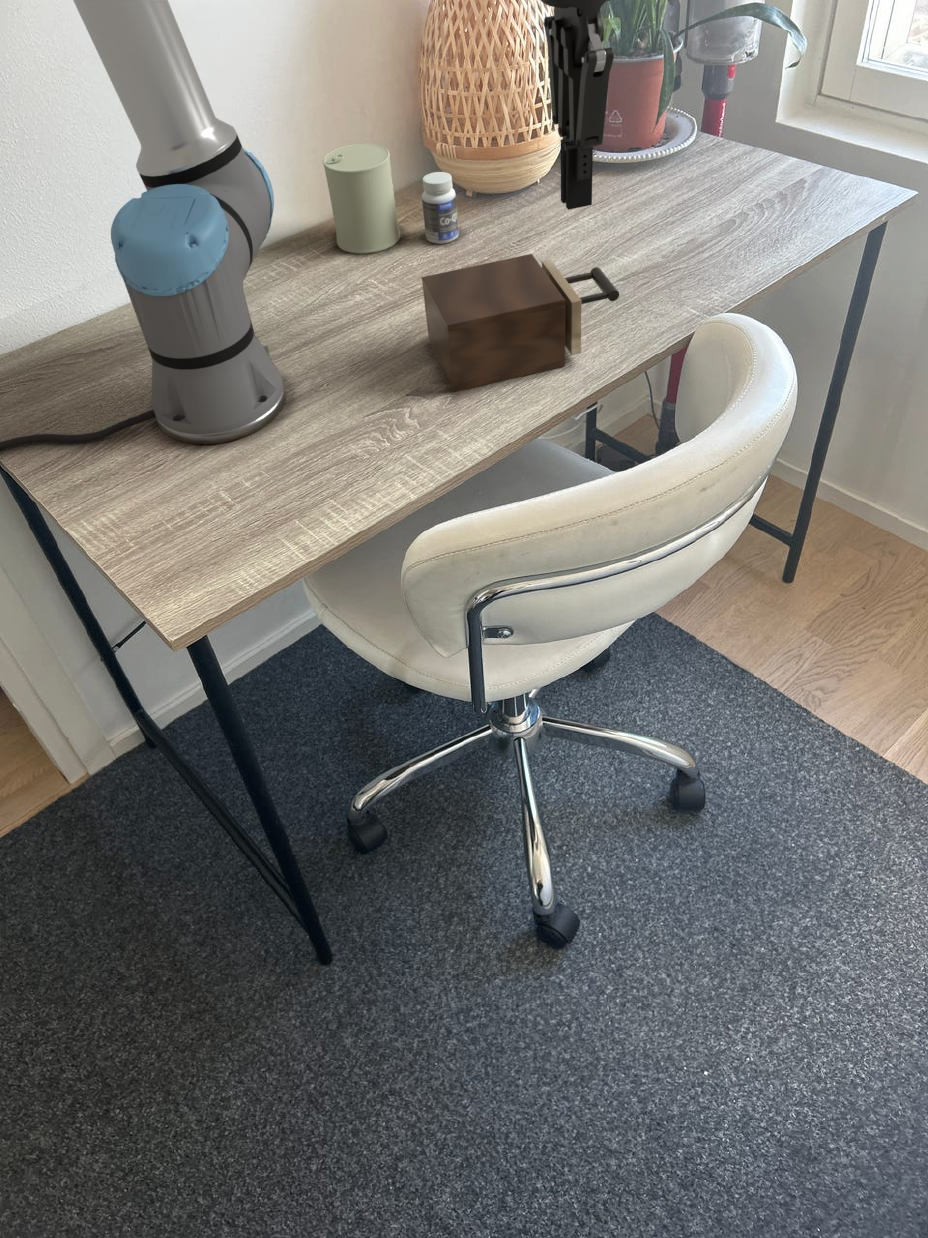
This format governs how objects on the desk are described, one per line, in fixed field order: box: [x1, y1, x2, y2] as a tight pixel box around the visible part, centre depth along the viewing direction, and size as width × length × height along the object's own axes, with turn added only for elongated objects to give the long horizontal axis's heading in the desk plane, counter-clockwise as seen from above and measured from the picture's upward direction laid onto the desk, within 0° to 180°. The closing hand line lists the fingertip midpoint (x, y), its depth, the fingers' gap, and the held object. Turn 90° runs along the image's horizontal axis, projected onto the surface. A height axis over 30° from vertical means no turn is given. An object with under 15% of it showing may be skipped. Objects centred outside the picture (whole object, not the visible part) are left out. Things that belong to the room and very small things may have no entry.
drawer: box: [541, 259, 620, 356], centre depth 115 cm, size 18×10×7 cm, turn 106°
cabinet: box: [421, 253, 566, 393], centre depth 115 cm, size 14×12×9 cm
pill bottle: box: [421, 171, 460, 245], centre depth 136 cm, size 5×5×8 cm
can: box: [322, 142, 401, 255], centre depth 136 cm, size 9×9×12 cm
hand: (576, 202), depth 107 cm, fingers closed
